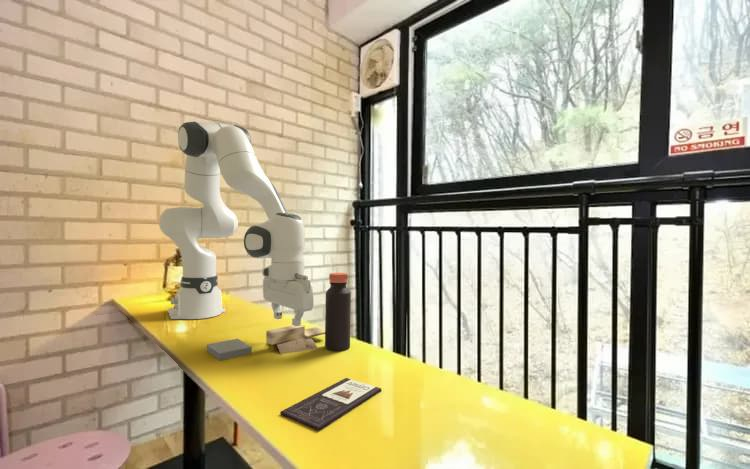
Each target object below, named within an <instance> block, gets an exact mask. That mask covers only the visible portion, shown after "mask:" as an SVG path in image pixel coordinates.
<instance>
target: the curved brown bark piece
mask: <svg viewBox="0 0 750 469" xmlns="http://www.w3.org/2000/svg"><path fill="white" fill-rule="evenodd" d="M276 346H277V349H278V351H279V353H280V355H284V354H292V353H299V352H306V351H312V350H313V351H314V350H318V347H317V344H316V342H315V341H314V340H313V337H311V338H306V337H303V338H298V339H294V340H290V341H286V342H282V343H277V344H276Z"/></svg>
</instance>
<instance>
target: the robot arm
mask: <svg viewBox="0 0 750 469" xmlns="http://www.w3.org/2000/svg"><path fill="white" fill-rule="evenodd" d="M178 128H179V129H178V131H177V142H178V146H179V148H180V151H182V153H183V154H185V155H186V156H185V165H184V192H185V193H186V194H187V196H189V197H190V198H192V199H193V200H195V201H197V202H199V203H201V204H202V207H192V206H191V207H186V206H184V207H183V206H178V207H177V206H176V207H172V208H170V207H169V208H166V209H164V210H163V211H162V212H161V214H160V215H159V220H158V227H159V229H160V231H161V232H162V234H164V235H165V236H166V237H167V238H169V239H170V240H171V241H172V242H173V243H174V244H175V245H176V247H178V250H179V251H180V252H179V253H180V254H181V255H180V256H181V261H182V262H181V264H182V277H181V279H180V284H179V285H180V288H179V290H178V291H177V292H176V294H175V296H174V297H171V298H170V305H173V307H170V308H168V309H167V314H168V313H169V314H168V316H169V318H170V319H171V320H199V319H201V320H202V319H208V318H212V317H213V318H214V317H216V316H219V315H221V314H223V313H226V311H227V309H226V308H225V307H223V300H222V299H223V298H222V290H221V289H220V288H219V287H218V285H219V284H218V283H219V278H218V275H217V255H216V253H215V252H214V251H212V250H211V249H209V248H207V247H205V246H202V245H201V244H200V243H199V240H198V239H221V238H227V237H231V236H233V235H234V234H235V233H236V232H237V230H238V226H239V220H238V216H237V215H236V214H235V212H234V211H232V210H231V209H230V208H228V206H227V205H226V203H225V202H224V201H223V199H222V196H221V184H220V183H221V176H222V178H223V180H224V182H225V183H226V185H227V186H229V188H231V189H233V190H235V191H236V192H238V193H241V194H244V195H245V196H248V197H250V198H251V199H253V200H254V201H256V202H258V204H260V205H261V208H263V211H264V212H265V214H266V216H267V219H268V220H266V221H264V222H261V223H259V224H255V225H251V226H249V228H248V229H247V230H246V231H245V233H244V236H243V246H244V249H245V252H246V253H247V254H248V255H249V256H250V257H251V258H255V259H271V261H270V262H271V263H270V265H269V266H266V267H264V268H262V271H261V272H262V276H263V279H262V280H263V281H262V296H263V298H264V300H265V301H266V302H269V303H271V307H272V308H271V309H272V311H273V319H276V320H281V319H283V312H282V311H281V307H280V306H282V307H284V308H288V309H291V310H293V313H294V317H293V318H292V319H291V322H292V323H291V324H292V325H291V326H293V325H294V326H300V325H302V318H303V316H304V314H305V313H304V312H309V311H312V309H314V291H313V286H312V282H311V281H310V279H309V278H308V276H307V275H305V258H304V257H305V256H304V249H305V242H306V240H305V224H304V221H303V219H302V217H301V216H299V215H297V214H294V213H288V211H287V209H286V206H285V205H284V203H283V201H282V198H281V197H280V195H279V192H278V190H277V189H276V187H275V186H274V183H273V182H272V181H271V179H269V178H268V176H267V175H266V174H265V171H264V169H263V168H262V167H261V165H260V163H259V161H258V158H257V154H256V153H255V150H254V148H253V146H252V137H251V135H250V133H249V131H248V130H247V128H245V127H242V126H239V125H237V124H236V125H235V124H234V125H232V124H229V123H221V122H203V121H202V122H197V121H187V122H183V123H182V124H181V125H180V127H178Z"/></svg>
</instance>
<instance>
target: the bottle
mask: <svg viewBox="0 0 750 469" xmlns="http://www.w3.org/2000/svg"><path fill="white" fill-rule="evenodd" d="M348 275H349V274H348V273H345V272H331V273H329V276H328V277H329V279H328V280H329V285H330V287H329V288H328V289H327V290H326V292H325V307H324V308H325V313H324V317H325V318H324V325H325V326H324V330H325V334H324V347H325V349H326V350H328V351H332V352H342V351H345V350H349V348H350V347H351V303H352V297H351V295H352V293H351V290H350V289H349V288H348V287H347V285H348V281H349V280H348V279H349V278H348V277H349V276H348Z"/></svg>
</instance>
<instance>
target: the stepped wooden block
mask: <svg viewBox="0 0 750 469" xmlns="http://www.w3.org/2000/svg"><path fill="white" fill-rule="evenodd" d="M322 335H325V329H322V328H319V327H315V326H314V327H311V328H307V329H306V328H305V325H302V324H301V325H300V326H294V325H289V326H284V327H279V328H274V329H269V330H266V334H265V336H266V342H265V343H267V344H269V345H277V343H282V342H286V341H290V340H294V339H298V338H303V337H306V338H315V337H318V336H322Z"/></svg>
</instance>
